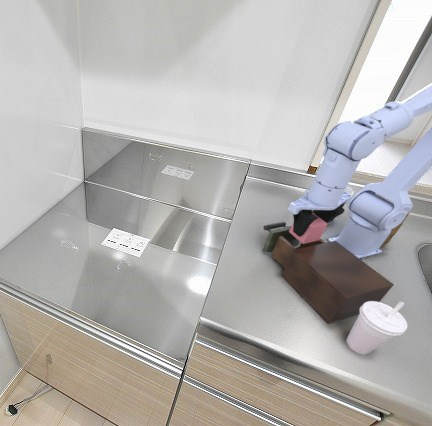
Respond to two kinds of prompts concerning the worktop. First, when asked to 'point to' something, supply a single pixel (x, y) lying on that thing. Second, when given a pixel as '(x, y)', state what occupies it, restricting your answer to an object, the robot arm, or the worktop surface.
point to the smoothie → (375, 326)
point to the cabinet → (334, 280)
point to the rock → (393, 232)
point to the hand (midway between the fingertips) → (306, 231)
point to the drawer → (283, 242)
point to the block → (311, 231)
